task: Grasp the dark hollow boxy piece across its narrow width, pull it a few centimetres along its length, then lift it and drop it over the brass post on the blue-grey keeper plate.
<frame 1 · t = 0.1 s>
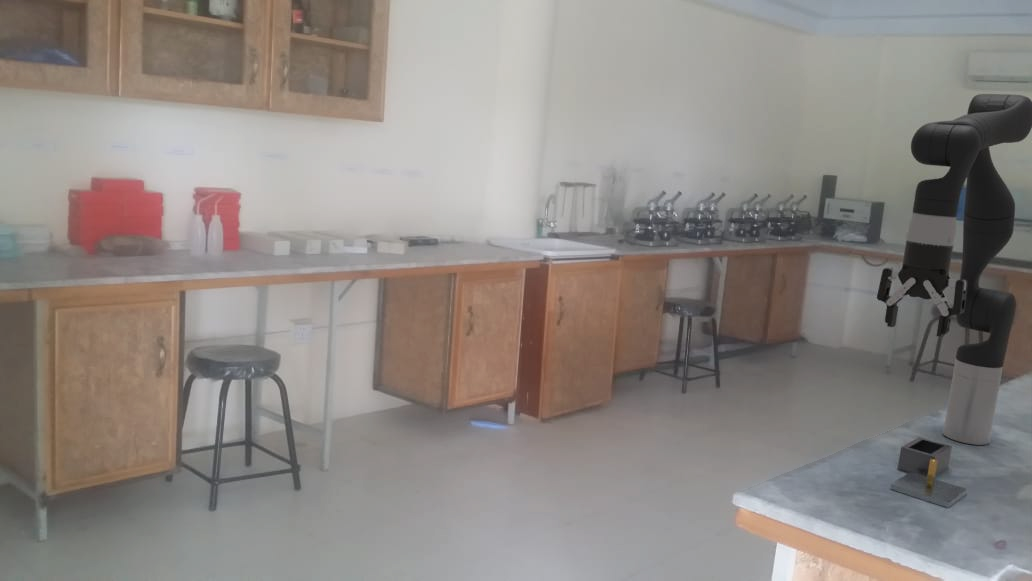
hand: (915, 331, 158), 29 cm above the table, tool pointing down, fingers open, 8 cm apart
keeper plate: (928, 491, 161), on the table
dark hollow boxy piece: (923, 468, 173), on the table
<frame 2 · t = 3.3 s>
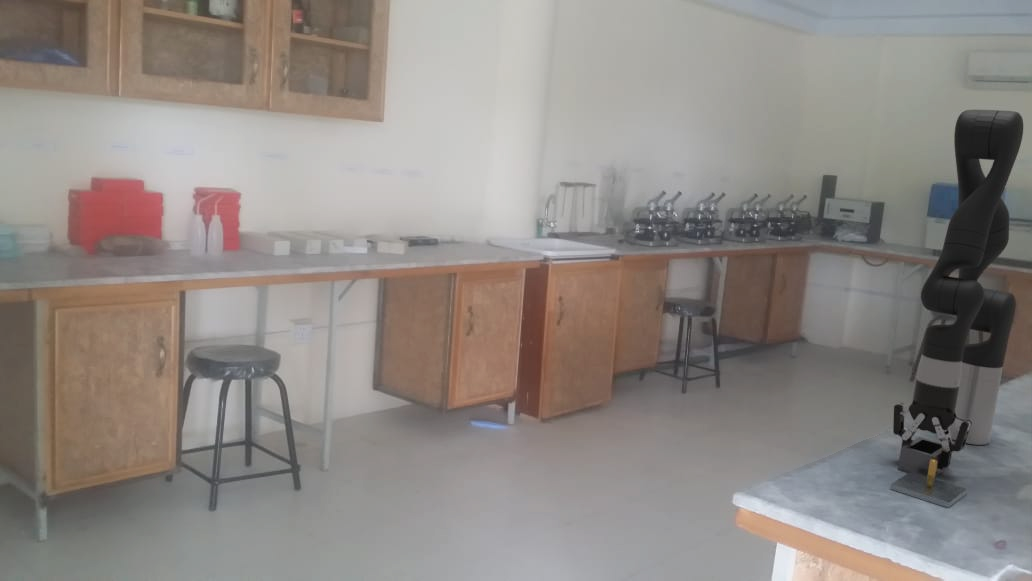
hand: (923, 463, 173), 1 cm above the table, tool pointing down, fingers closed on dark hollow boxy piece, 6 cm apart
dark hollow boxy piece: (923, 468, 173), on the table, touching gripper
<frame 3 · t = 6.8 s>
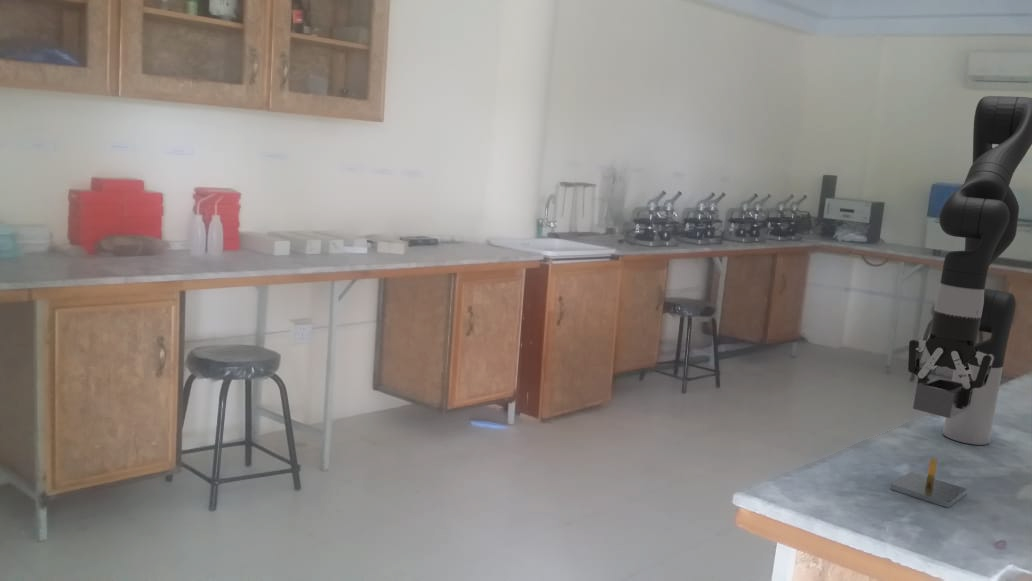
hand: (941, 403, 159), 16 cm above the table, tool pointing down, fingers closed on dark hollow boxy piece, 6 cm apart
dark hollow boxy piece: (940, 409, 159), point 15 cm above the table, touching gripper
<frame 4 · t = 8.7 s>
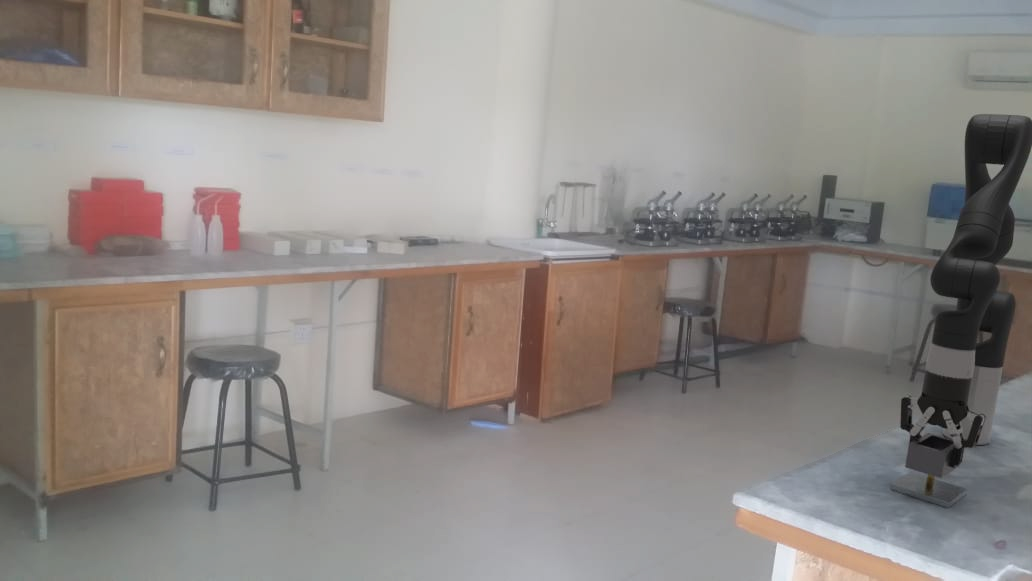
hand: (933, 460, 160), 6 cm above the table, tool pointing down, fingers closed on dark hollow boxy piece, 6 cm apart
dark hollow boxy piece: (932, 466, 160), point 5 cm above the table, touching gripper
when the fingers open (3 cm above the table, at t = 10.3 s): dark hollow boxy piece stays where it is, resting on keeper plate.
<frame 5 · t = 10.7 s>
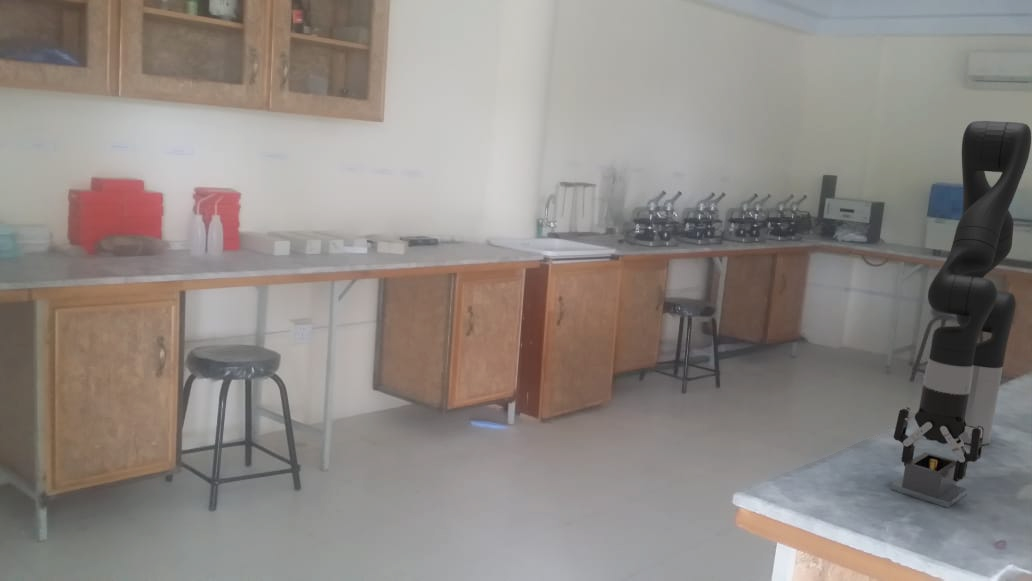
hand: (931, 472, 161), 4 cm above the table, tool pointing down, fingers open, 8 cm apart
dark hollow boxy piece: (929, 486, 161), point 1 cm above the table, touching keeper plate
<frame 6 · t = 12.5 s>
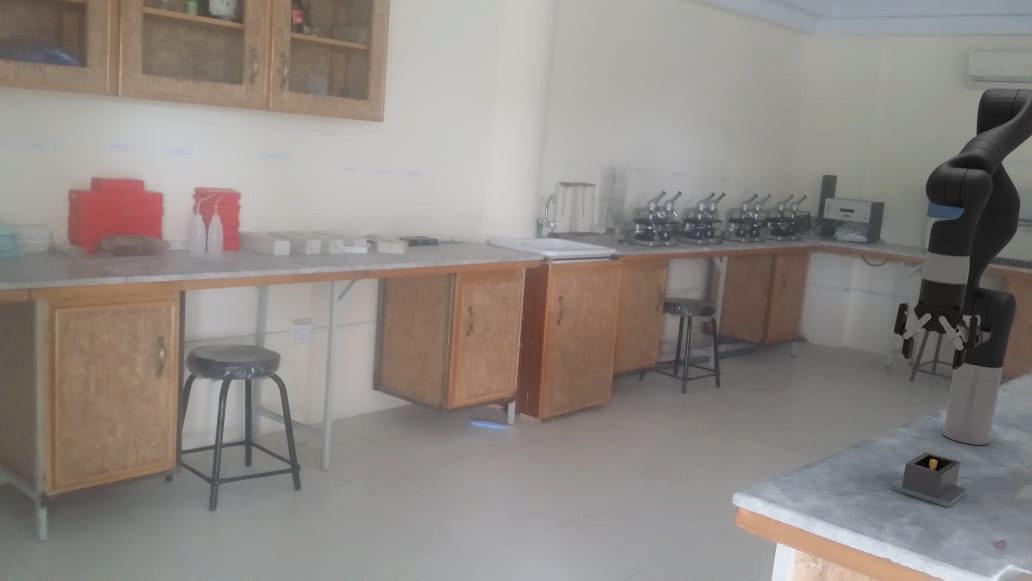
hand: (931, 363, 166), 22 cm above the table, tool pointing down, fingers open, 8 cm apart
nothing on the table moved.
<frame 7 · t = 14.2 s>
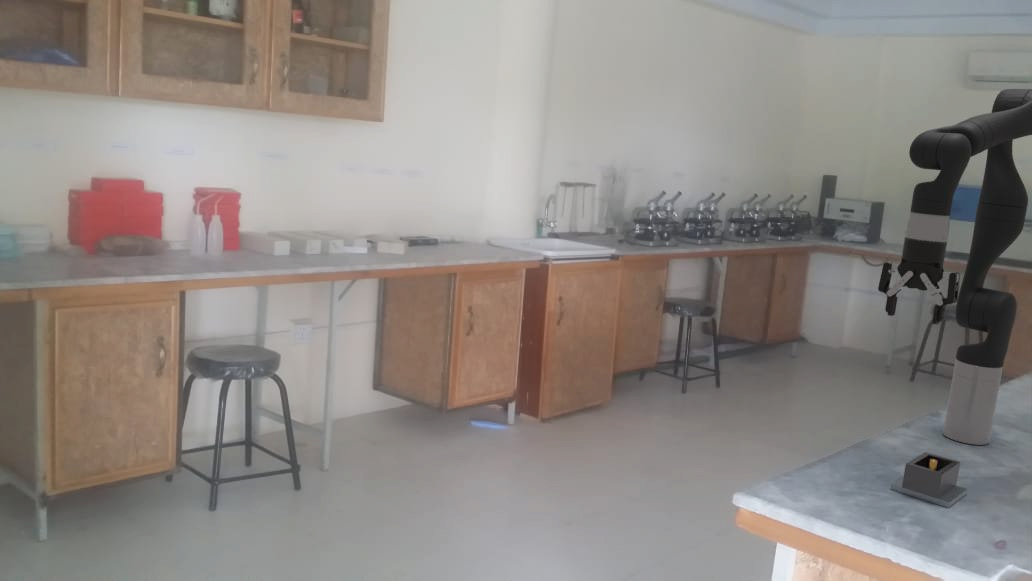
hand: (912, 319, 175), 28 cm above the table, tool pointing down, fingers open, 8 cm apart
nothing on the table moved.
at the end: dark hollow boxy piece 0.0 cm off-centre on the keeper plate, point 1.0 cm above the keeper plate's base; the gripper is holding nothing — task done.
